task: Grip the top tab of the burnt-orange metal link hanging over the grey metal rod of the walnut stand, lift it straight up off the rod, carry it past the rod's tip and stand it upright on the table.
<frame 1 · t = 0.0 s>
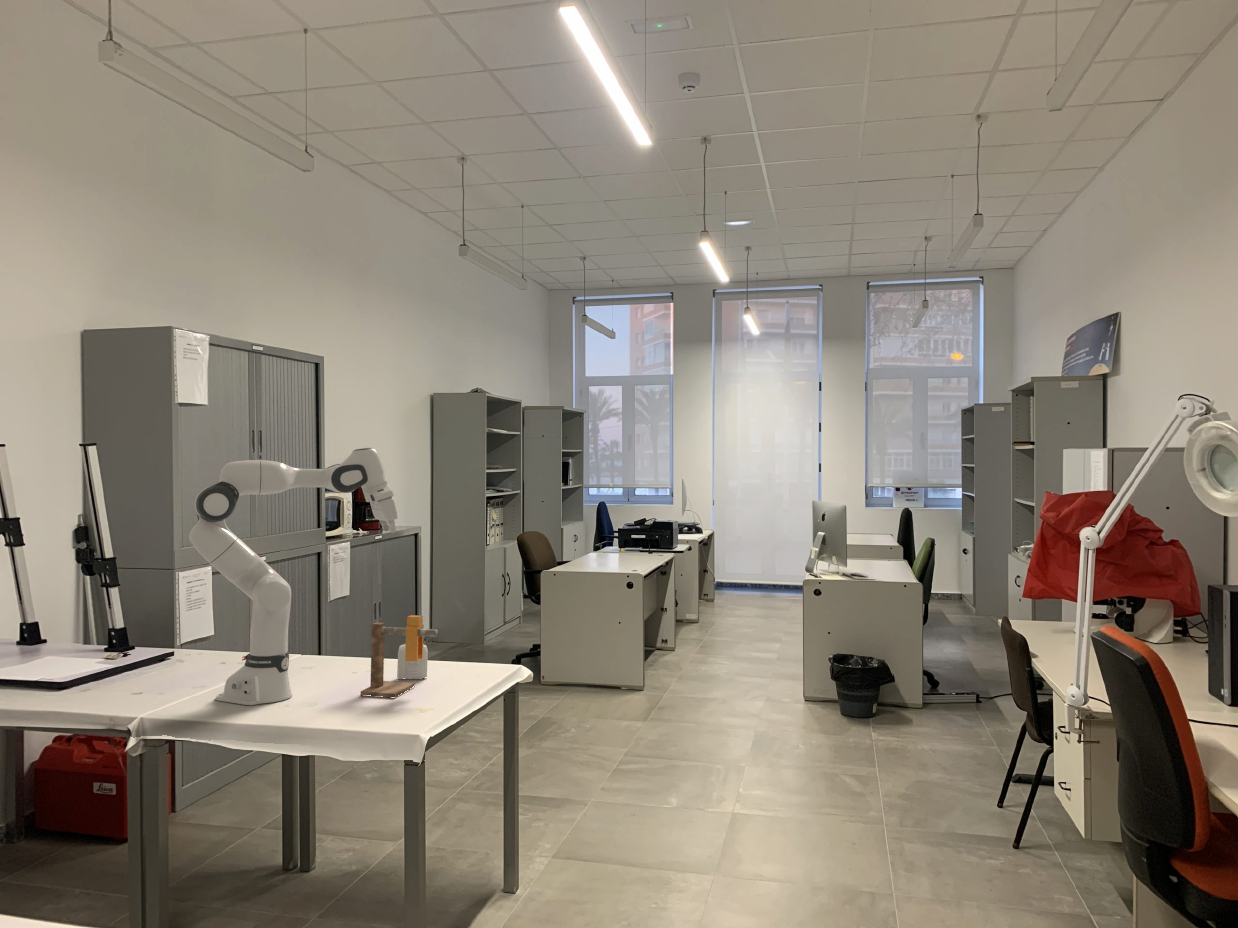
hand: (390, 531, 273), 52 cm above the table, tool tilted 20°, fingers open, 8 cm apart
stand: (387, 691, 263), on the table
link: (414, 659, 261), point 11 cm above the table, touching stand
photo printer: (412, 679, 280), on the table
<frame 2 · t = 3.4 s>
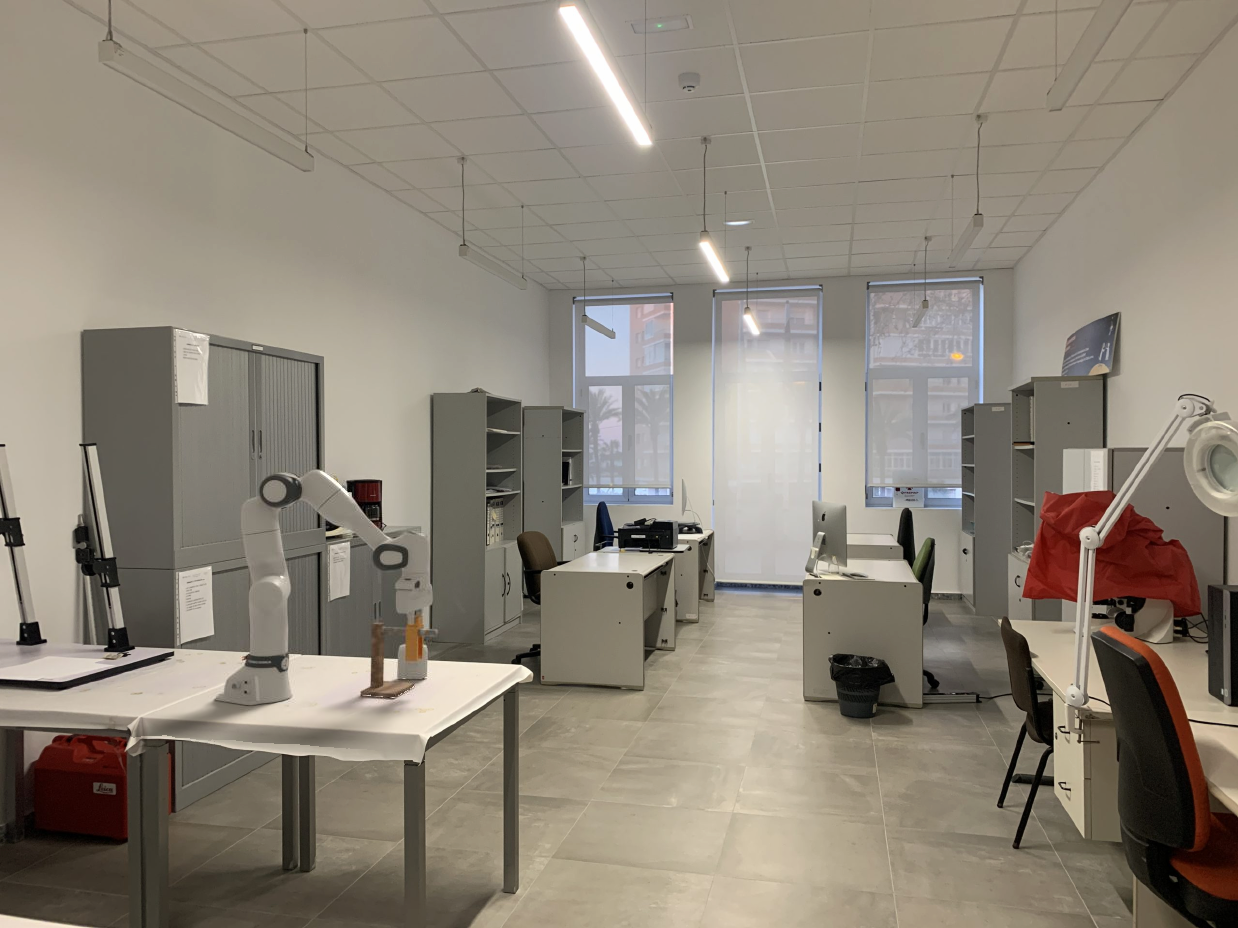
hand: (414, 623, 261), 23 cm above the table, tool pointing down, fingers closed on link, 3 cm apart
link: (414, 659, 261), point 11 cm above the table, touching gripper, stand
everything else where it was.
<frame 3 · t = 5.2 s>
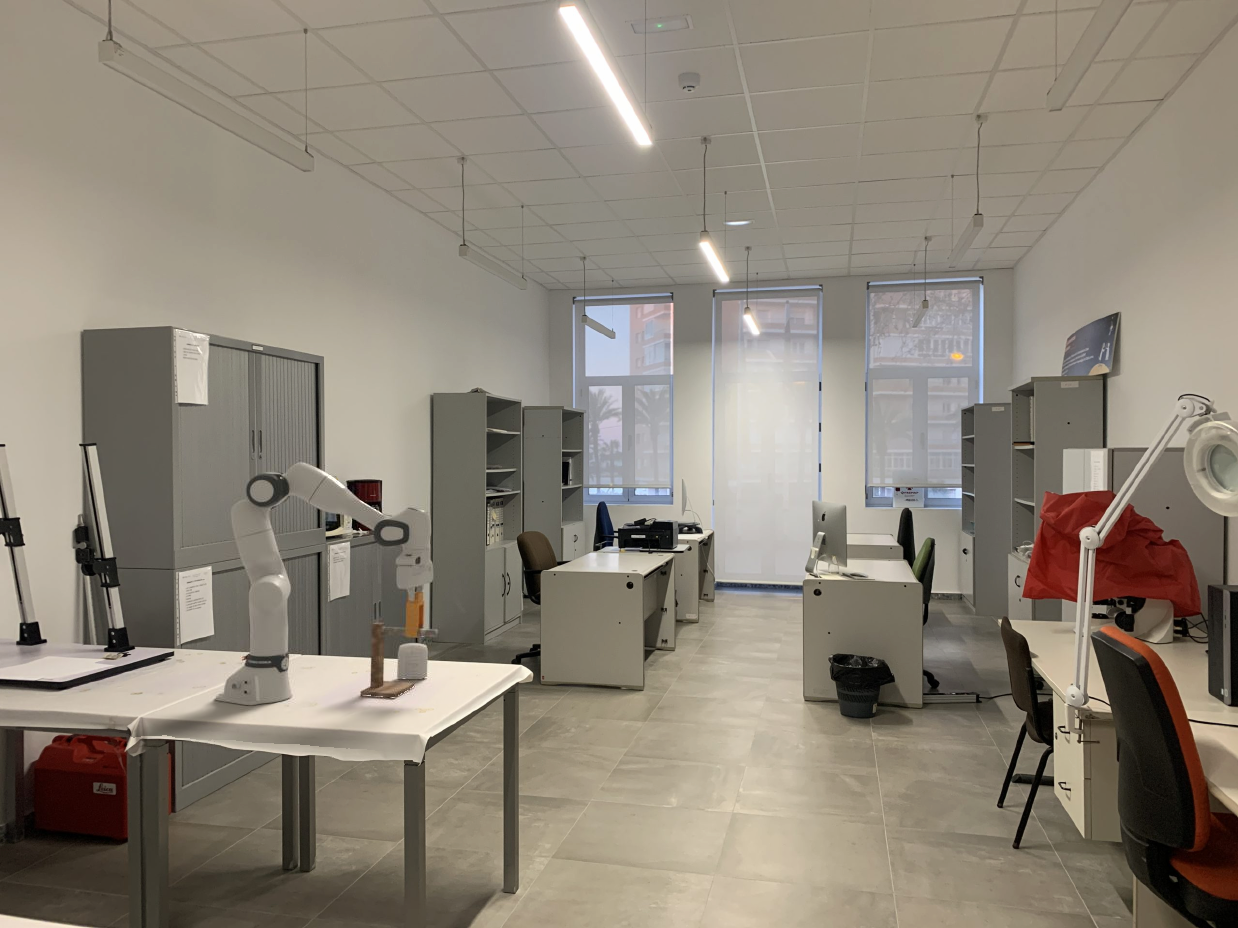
hand: (415, 599, 262), 31 cm above the table, tool pointing down, fingers closed on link, 3 cm apart
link: (414, 635, 261), point 19 cm above the table, touching gripper
everything else where it was.
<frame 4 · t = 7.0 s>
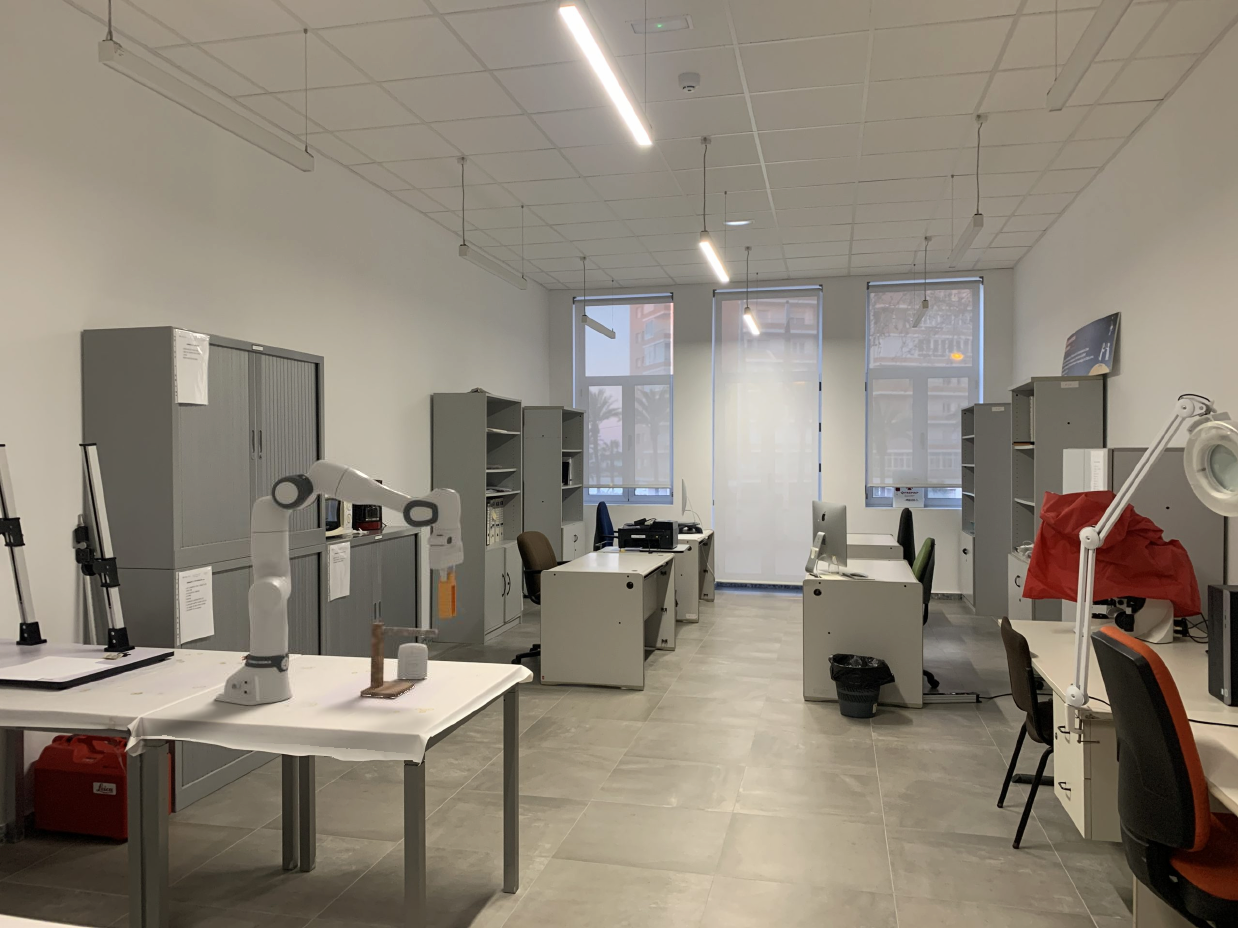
hand: (447, 580, 260), 37 cm above the table, tool pointing down, fingers closed on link, 3 cm apart
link: (447, 616, 260), point 26 cm above the table, touching gripper
everything else where it was.
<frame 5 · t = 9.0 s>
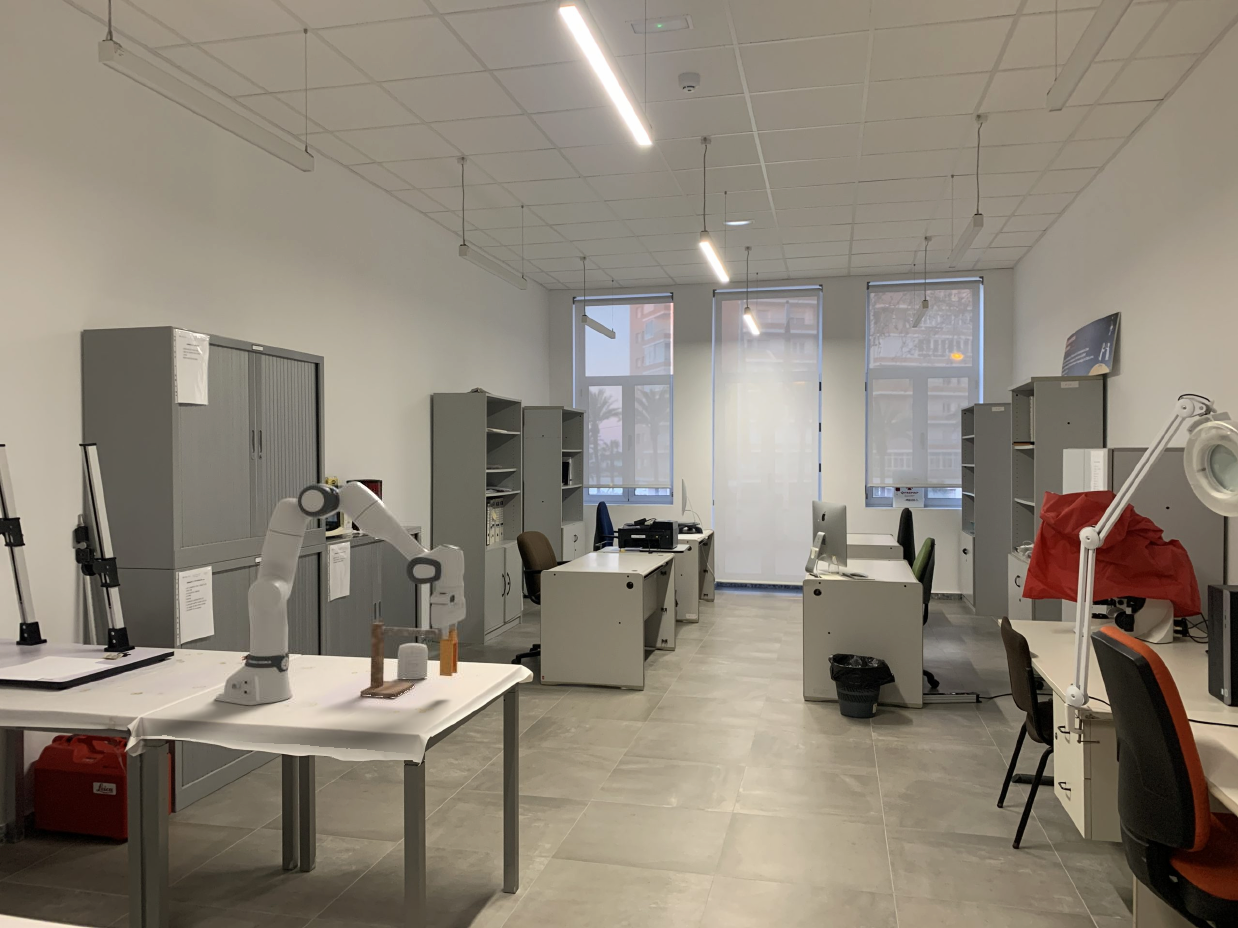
hand: (449, 637, 259), 19 cm above the table, tool pointing down, fingers closed on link, 3 cm apart
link: (448, 673, 259), point 7 cm above the table, touching gripper
everything else where it was.
when the fingers open (13 cm above the table, at t = 10.8 s): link drops 1 cm, on the table.
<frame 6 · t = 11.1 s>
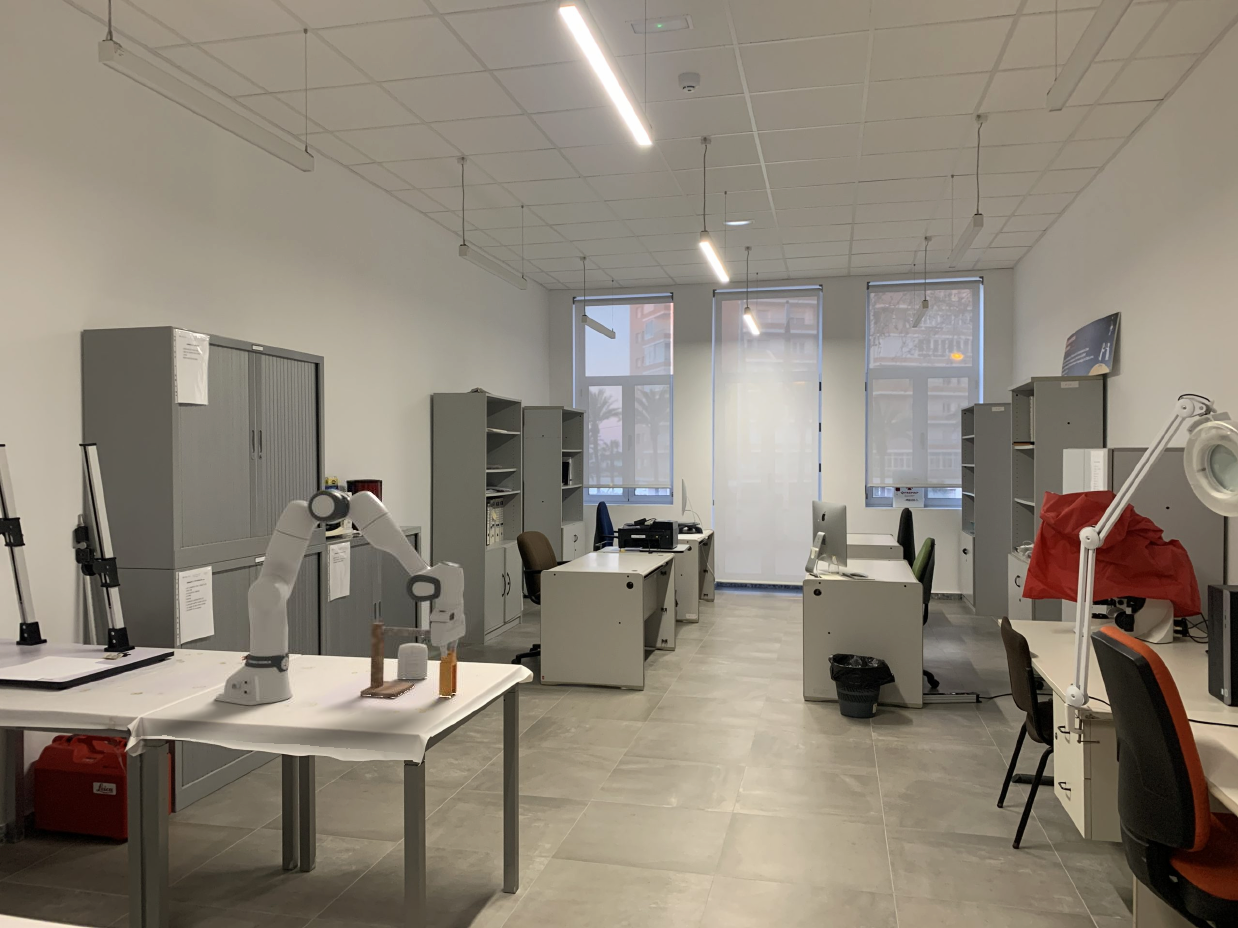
hand: (448, 654, 259), 13 cm above the table, tool pointing down, fingers open, 5 cm apart
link: (447, 695, 259), on the table
everything else where it was.
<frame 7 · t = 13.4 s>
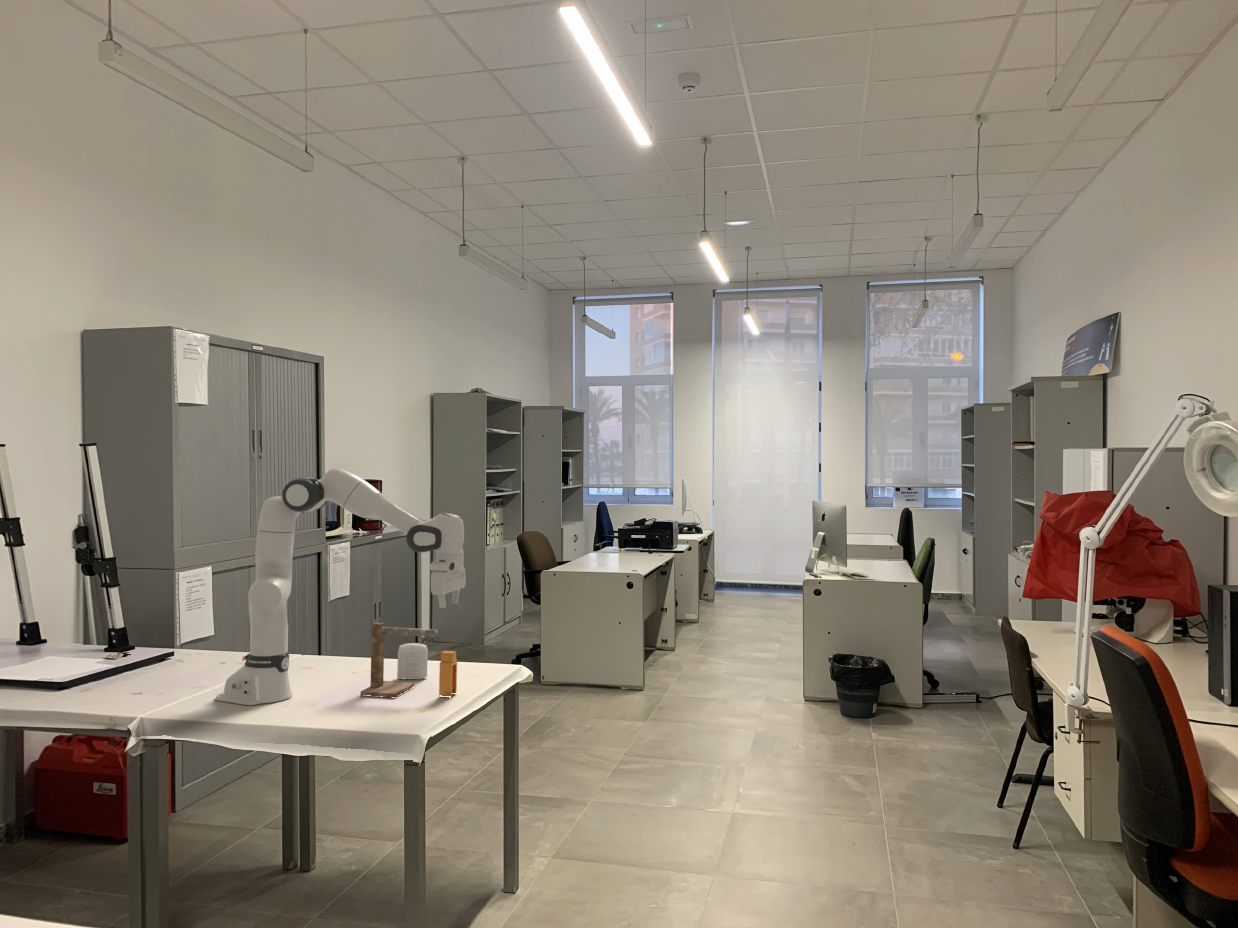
hand: (448, 605, 260), 29 cm above the table, tool pointing down, fingers open, 8 cm apart
nothing on the table moved.
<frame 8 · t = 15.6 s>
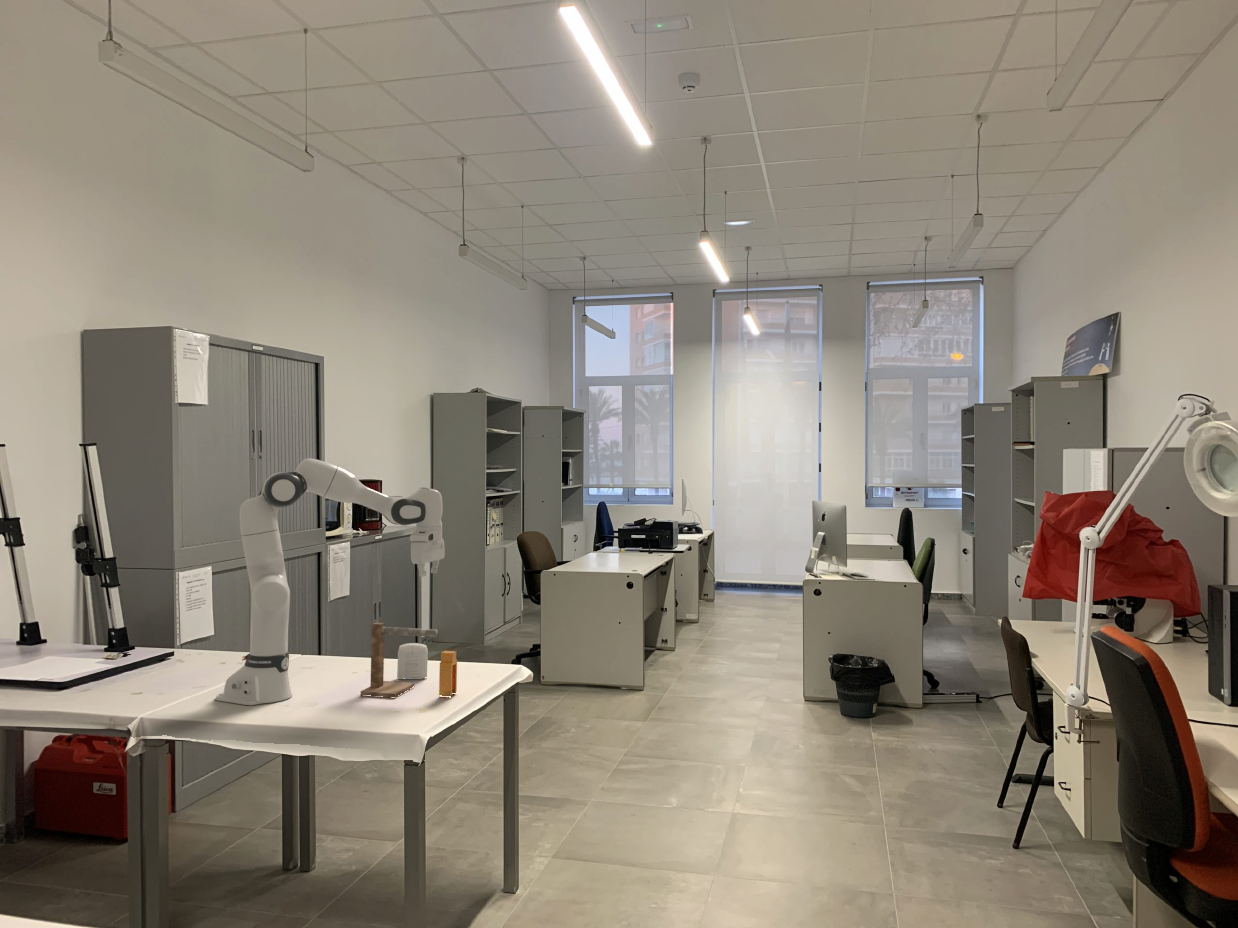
hand: (428, 574, 276), 37 cm above the table, tool pointing down, fingers open, 8 cm apart
nothing on the table moved.
at the end: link inside the target area (0.0 cm from its centre), on the table; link tilted 0°; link touching table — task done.
